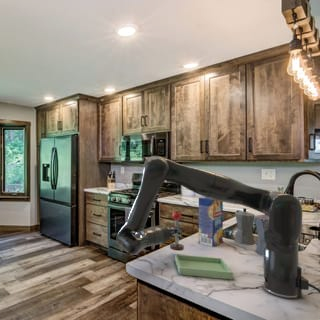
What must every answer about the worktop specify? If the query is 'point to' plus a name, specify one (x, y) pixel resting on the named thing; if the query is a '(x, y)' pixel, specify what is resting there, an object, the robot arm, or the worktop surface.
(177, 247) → the red topped grey rod
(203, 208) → the juice carton
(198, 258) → the serving tray
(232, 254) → the worktop surface
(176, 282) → the worktop surface
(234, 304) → the worktop surface
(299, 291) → the robot arm
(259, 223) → the moka pot
